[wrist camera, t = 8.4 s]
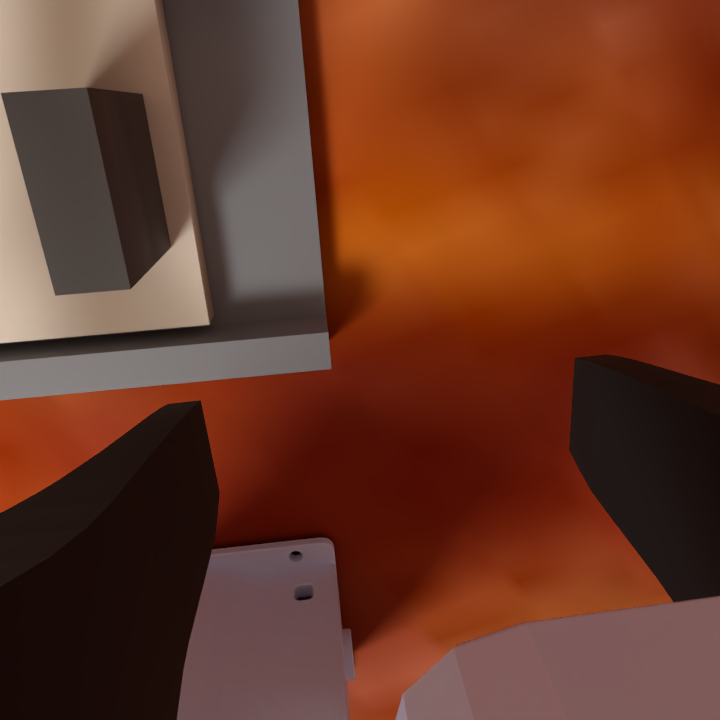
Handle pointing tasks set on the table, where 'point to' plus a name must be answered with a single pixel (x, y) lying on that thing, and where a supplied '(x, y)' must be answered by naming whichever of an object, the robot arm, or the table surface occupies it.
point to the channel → (222, 218)
